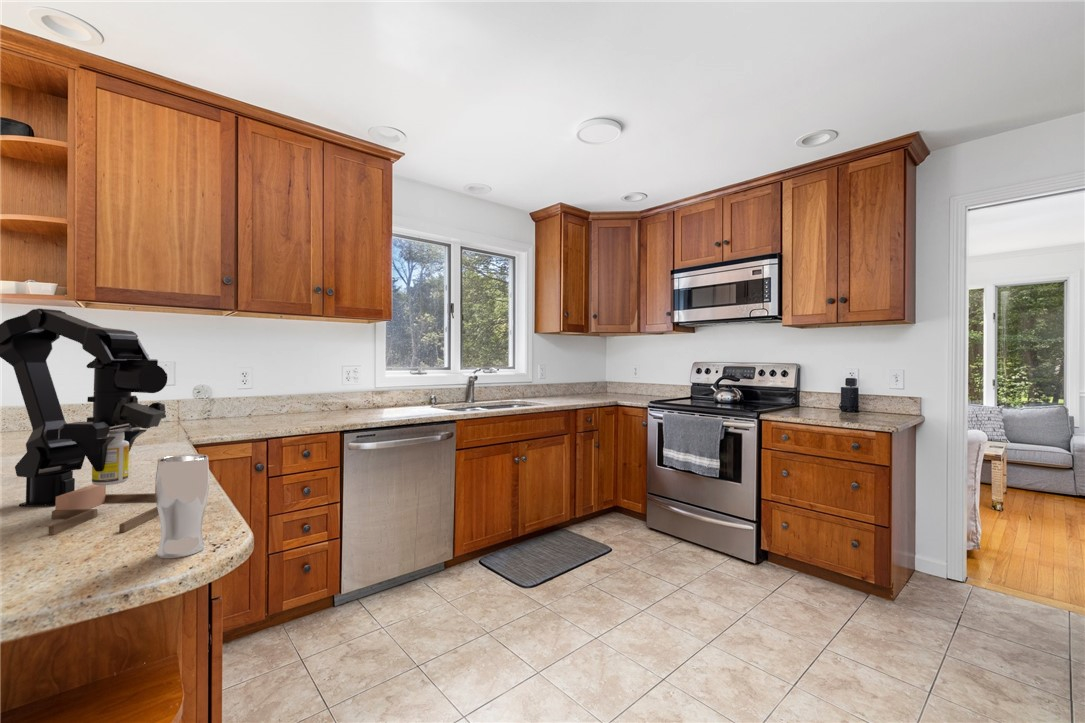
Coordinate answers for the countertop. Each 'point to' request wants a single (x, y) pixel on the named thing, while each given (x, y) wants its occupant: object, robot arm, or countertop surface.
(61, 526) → the walnut track
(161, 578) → the countertop surface
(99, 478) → the supplement bottle
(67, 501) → the stop block
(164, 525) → the beer glass
